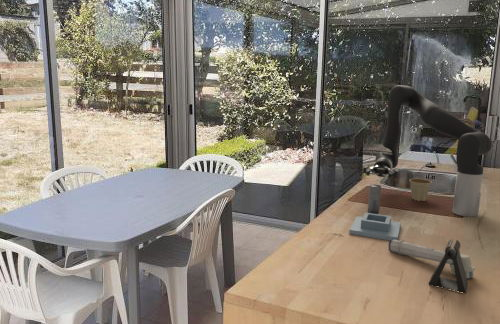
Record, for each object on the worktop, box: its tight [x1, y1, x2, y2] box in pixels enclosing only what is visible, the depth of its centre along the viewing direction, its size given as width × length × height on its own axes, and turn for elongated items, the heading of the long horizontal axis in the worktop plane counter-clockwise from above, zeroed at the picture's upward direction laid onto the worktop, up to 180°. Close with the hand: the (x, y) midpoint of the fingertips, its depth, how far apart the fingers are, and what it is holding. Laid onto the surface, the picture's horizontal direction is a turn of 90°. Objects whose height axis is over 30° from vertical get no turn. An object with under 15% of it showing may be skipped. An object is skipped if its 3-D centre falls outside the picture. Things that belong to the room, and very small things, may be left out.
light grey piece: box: [387, 239, 476, 279], centre depth 127 cm, size 5×7×25 cm
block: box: [348, 212, 402, 241], centre depth 153 cm, size 16×16×4 cm
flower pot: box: [409, 178, 433, 202], centre depth 192 cm, size 9×9×9 cm
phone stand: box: [428, 238, 469, 294], centre depth 113 cm, size 9×6×12 cm, turn 58°
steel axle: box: [367, 184, 382, 214], centre depth 169 cm, size 4×4×12 cm
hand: (378, 174), depth 178 cm, fingers open, 8 cm apart
